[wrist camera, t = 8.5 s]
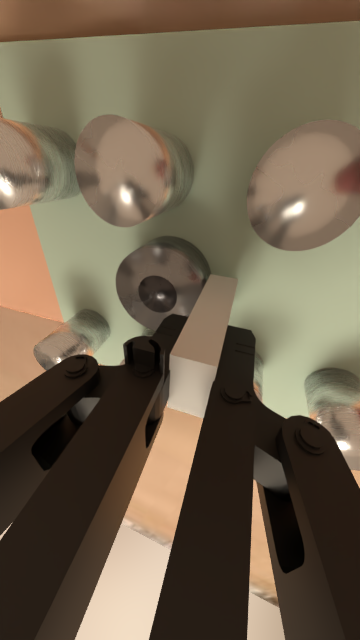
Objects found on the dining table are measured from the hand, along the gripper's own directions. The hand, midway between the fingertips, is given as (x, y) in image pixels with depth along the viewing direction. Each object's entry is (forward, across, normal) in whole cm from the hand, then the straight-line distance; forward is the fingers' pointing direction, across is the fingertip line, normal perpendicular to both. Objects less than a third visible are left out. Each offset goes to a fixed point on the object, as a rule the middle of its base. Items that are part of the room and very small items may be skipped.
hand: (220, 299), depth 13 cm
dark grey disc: (+1, -3, 0) cm, 3 cm away
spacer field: (+2, -1, 0) cm, 2 cm away
